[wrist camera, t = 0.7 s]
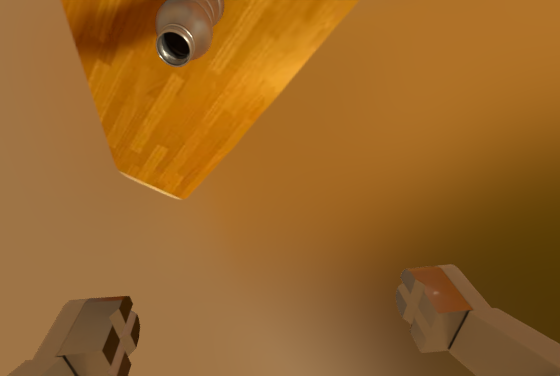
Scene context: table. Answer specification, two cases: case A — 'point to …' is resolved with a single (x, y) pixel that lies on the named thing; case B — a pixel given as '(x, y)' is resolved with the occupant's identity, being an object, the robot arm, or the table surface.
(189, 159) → the table surface
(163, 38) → the plastic bottle
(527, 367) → the robot arm
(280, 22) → the table surface
